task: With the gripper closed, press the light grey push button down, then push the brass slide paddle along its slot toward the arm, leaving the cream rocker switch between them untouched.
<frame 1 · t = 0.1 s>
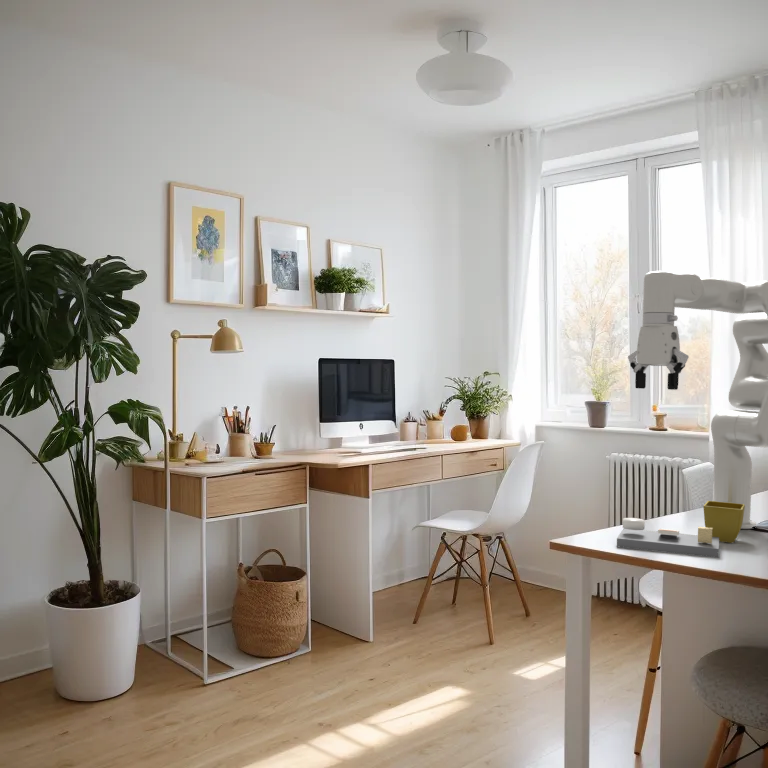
hand: (656, 388, 194), 37 cm above the table, tool pointing down, fingers open, 9 cm apart
push button: (633, 523, 186), point 4 cm above the table, slide at 0.0 cm
slide paddle: (705, 534, 178), point 4 cm above the table, slide at 2.5 cm
switch panel: (668, 546, 183), on the table
flower pot: (723, 541, 191), on the table
rocker: (668, 531, 183), point 3 cm above the table, hinge at -7.0°
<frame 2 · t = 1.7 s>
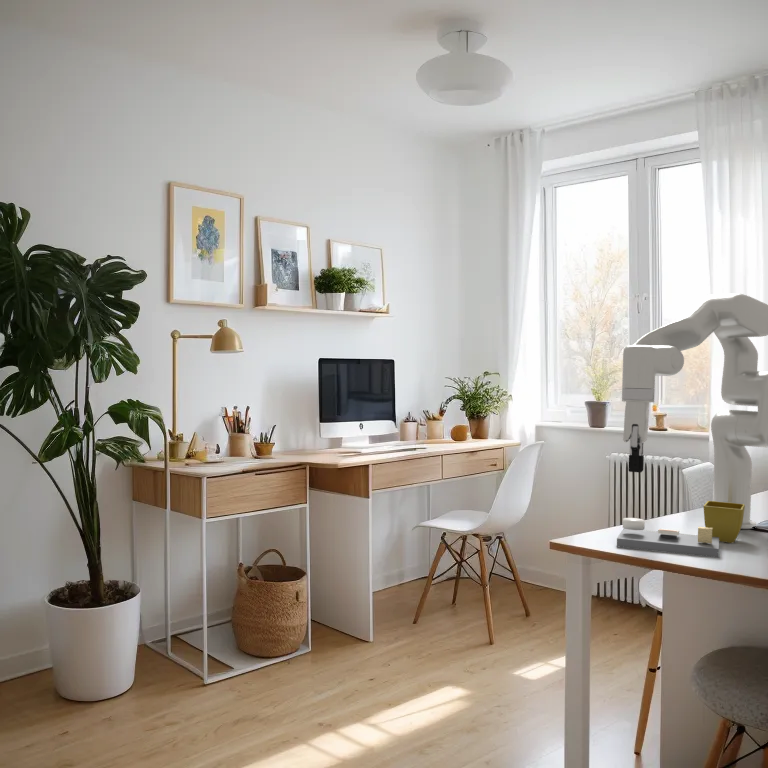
hand: (635, 470, 188), 17 cm above the table, tool pointing down, fingers closed
nothing on the table moved.
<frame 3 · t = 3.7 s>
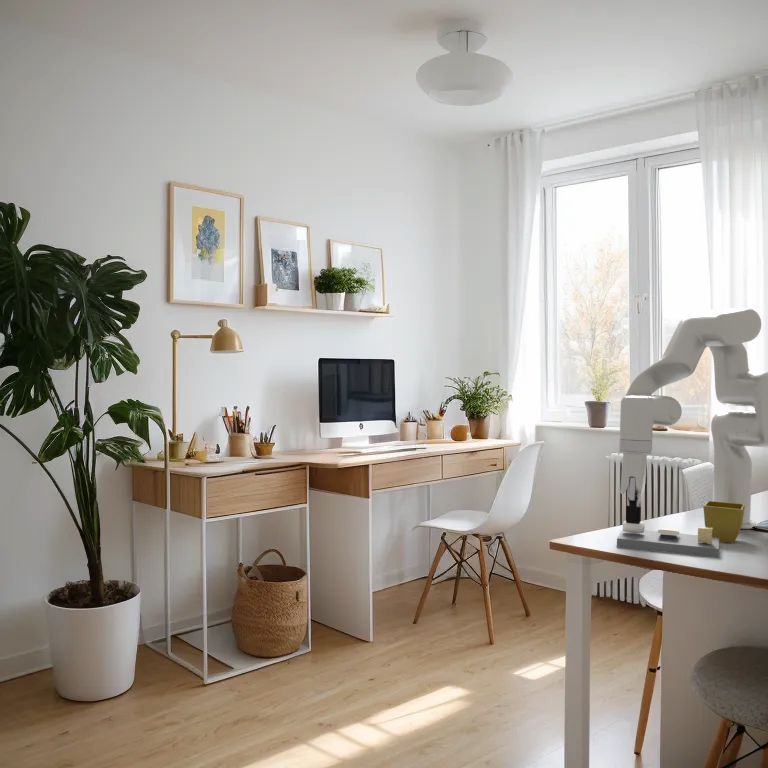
hand: (633, 522, 186), 5 cm above the table, tool pointing down, fingers closed
push button: (633, 526, 186), point 4 cm above the table, slide at 0.7 cm, touching gripper
everything else where it was.
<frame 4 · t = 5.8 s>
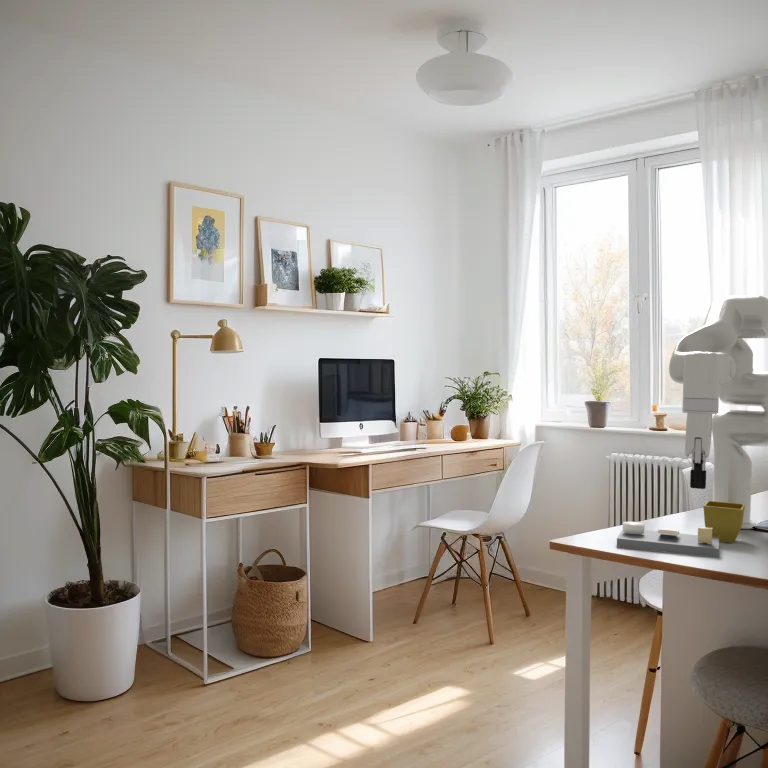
hand: (697, 487, 174), 15 cm above the table, tool pointing down, fingers closed
push button: (633, 527, 186), point 4 cm above the table, slide at 0.9 cm
everything else where it was.
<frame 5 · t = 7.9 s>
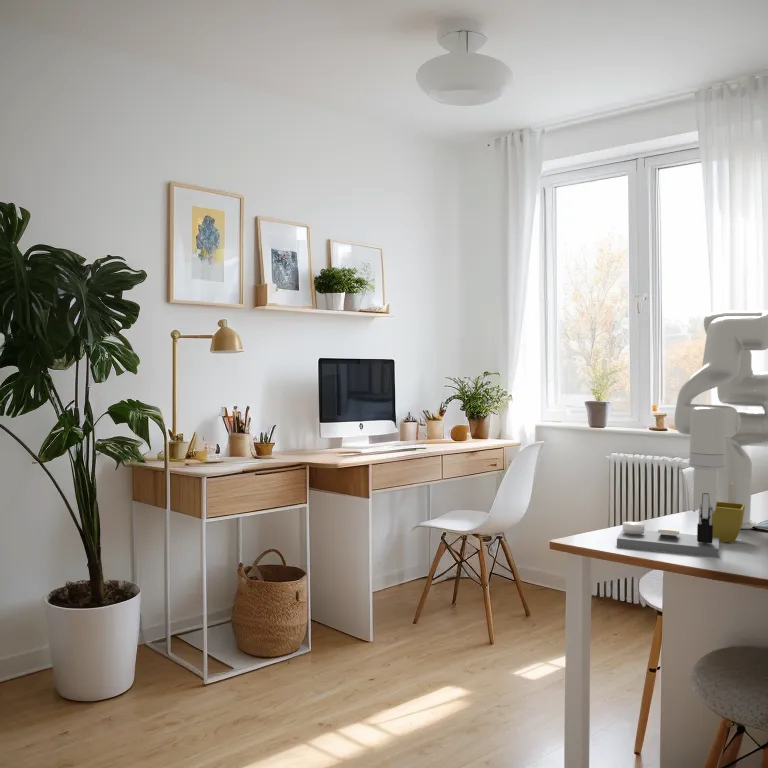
hand: (704, 541, 175), 3 cm above the table, tool pointing down, fingers closed
slide paddle: (705, 534, 178), point 4 cm above the table, slide at 2.5 cm, touching gripper
everything else where it was.
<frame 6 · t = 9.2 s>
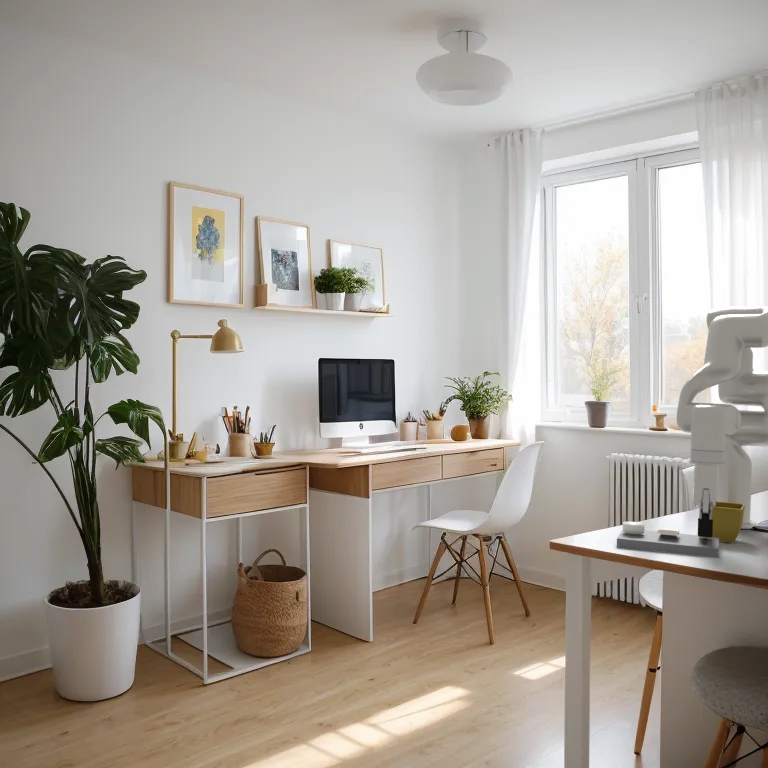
hand: (705, 536, 180), 3 cm above the table, tool pointing down, fingers closed
slide paddle: (705, 530, 183), point 4 cm above the table, slide at -3.1 cm, touching gripper
everything else where it was.
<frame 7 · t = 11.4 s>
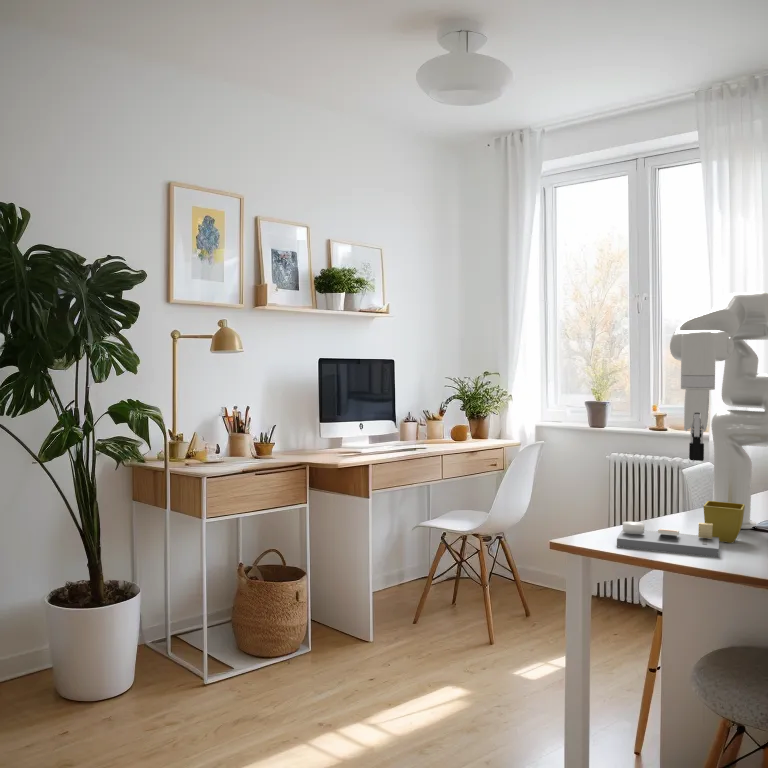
hand: (696, 459, 183), 21 cm above the table, tool pointing down, fingers closed
slide paddle: (705, 530, 183), point 4 cm above the table, slide at -3.2 cm
everything else where it was.
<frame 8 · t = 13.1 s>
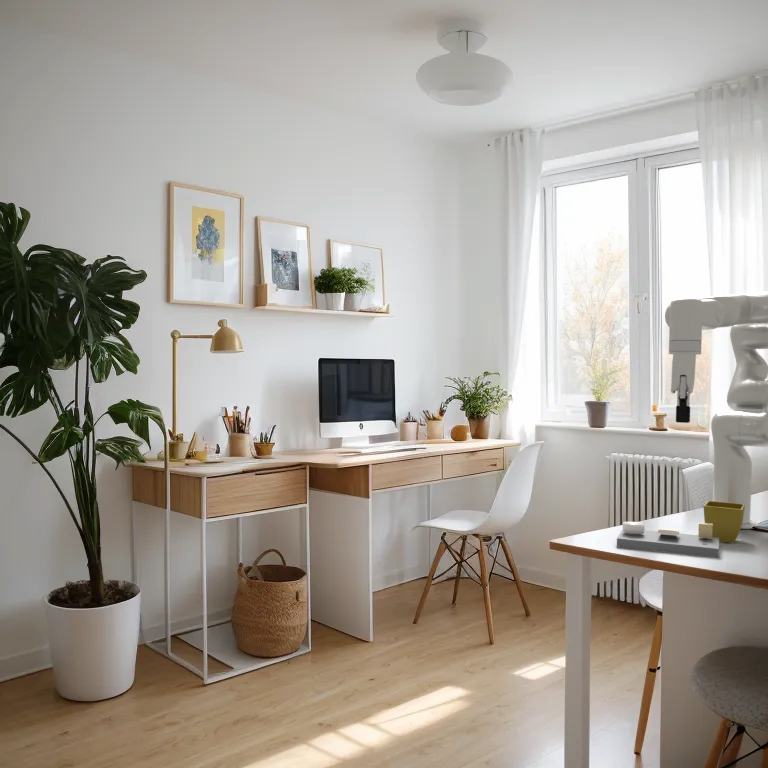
hand: (682, 422, 191), 29 cm above the table, tool pointing down, fingers closed
nothing on the table moved.
at the end: push button slide at 0.9 cm; slide paddle slide at -3.2 cm; rocker at -7° (first picture: -7°) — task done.
